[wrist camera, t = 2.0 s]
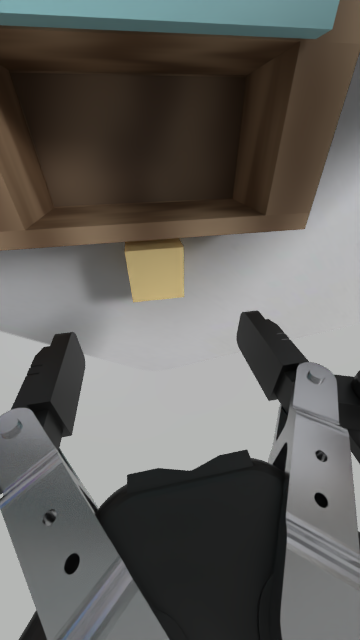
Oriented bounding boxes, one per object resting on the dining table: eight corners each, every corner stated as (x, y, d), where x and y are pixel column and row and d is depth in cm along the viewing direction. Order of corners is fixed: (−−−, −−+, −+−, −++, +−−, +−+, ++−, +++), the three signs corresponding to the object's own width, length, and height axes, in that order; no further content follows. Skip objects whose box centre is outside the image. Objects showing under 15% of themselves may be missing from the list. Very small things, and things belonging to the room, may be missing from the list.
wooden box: (322, -100, 11) (463, -281, 6) (263, 209, 20) (304, 229, 15) (-149, -160, 9) (-482, -526, 4) (17, 223, 17) (-25, 252, 12)
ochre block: (173, 227, 19) (183, 247, 15) (174, 270, 22) (184, 297, 18) (126, 230, 19) (124, 251, 15) (132, 274, 21) (133, 302, 17)
